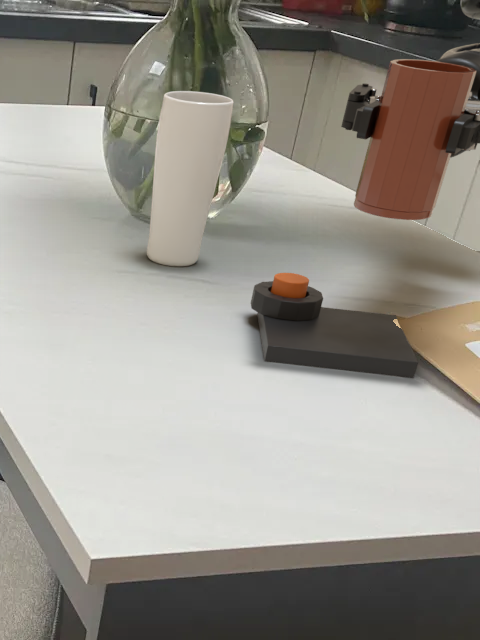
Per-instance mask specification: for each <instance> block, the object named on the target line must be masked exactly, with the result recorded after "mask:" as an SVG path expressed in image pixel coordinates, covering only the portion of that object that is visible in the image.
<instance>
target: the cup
mask: <svg viewBox="0 0 480 640" xmlns="http://www.w3.org/2000/svg"><path fill="white" fill-rule="evenodd" d="M475 75H476V70H475V69H473V68H470V67H466V66H463V65H457V64H452V63H445V62H438V61H437V60H425V59H414V58H413V59H410V58H399V59H392V60H390V62H389V65H388V68H387V72H386V76H385V80H384V84H383V88H382V92H381V95H380V96H381V99H380V103H379V107H378V111H377V114H376V118H375V122H374V126H373V130H372V133H371V137H370V138H369V141H368V145H367V148H366V151H365V152H366V153H365V156H364V160H363V164H362V167H361V172H360V175H359V179H358V184H357V187H356V190H355V198H354V202H353V206H354V208H356V210H359V211H361V212H362V213H366V214H368V215H373V216H376V217H380V218H387V219H392V220H402V221H419V220H421V221H422V220H426V219H430V218H431V217H432V216H433V214H434V213H433V212H434V209H435V208H436V206H437V202H438V200H439V199H438V198H439V196H440V193H441V189H442V186H443V183H444V179H445V175H446V172H447V170H448V165H449V163H450V159H451V158H450V156H451V154H450V153H446V147H447V144H448V141H449V137H450V134H451V131H452V128H453V125H454V122H455V120H456V119H458V118H459V117H461V116H463V114H464V111H465V107H466V104H467V101H468V98H469V94H470V91H471V88H472V84H473V81H474V78H475Z"/></svg>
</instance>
